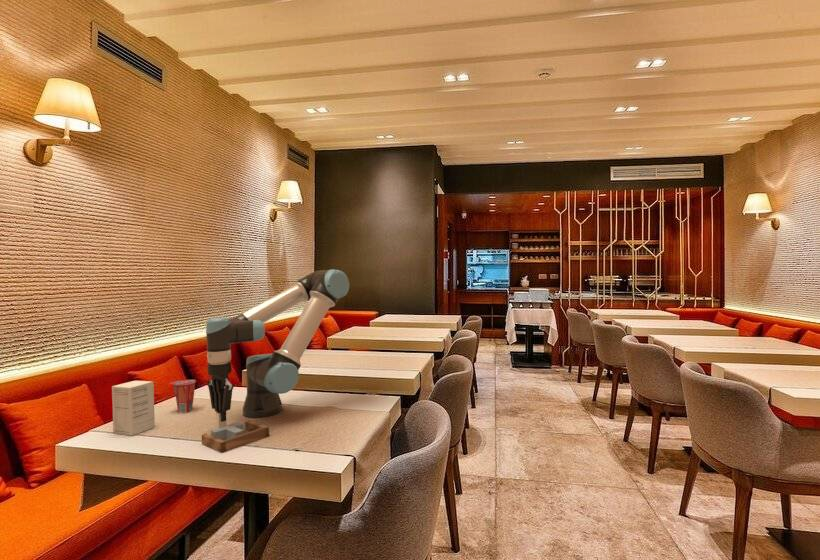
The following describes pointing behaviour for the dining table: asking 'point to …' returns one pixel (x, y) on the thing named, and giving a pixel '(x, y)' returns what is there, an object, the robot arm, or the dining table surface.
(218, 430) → the t block
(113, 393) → the supplement box
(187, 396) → the cup
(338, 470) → the dining table surface
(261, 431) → the dock
